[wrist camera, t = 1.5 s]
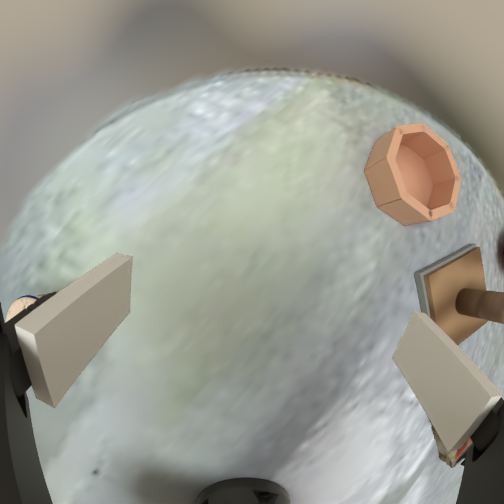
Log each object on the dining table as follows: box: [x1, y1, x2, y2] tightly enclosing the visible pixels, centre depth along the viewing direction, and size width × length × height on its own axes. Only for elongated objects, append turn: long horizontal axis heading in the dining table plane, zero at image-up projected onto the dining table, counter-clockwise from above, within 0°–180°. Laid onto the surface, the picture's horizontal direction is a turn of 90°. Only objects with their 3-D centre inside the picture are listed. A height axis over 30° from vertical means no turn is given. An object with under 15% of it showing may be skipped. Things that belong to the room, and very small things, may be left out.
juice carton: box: [430, 421, 472, 468], centre depth 34 cm, size 20×10×6 cm, turn 30°
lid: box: [423, 247, 504, 345], centre depth 29 cm, size 13×13×11 cm
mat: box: [414, 244, 476, 318], centre depth 36 cm, size 14×14×2 cm
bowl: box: [364, 123, 461, 226], centre depth 33 cm, size 12×12×6 cm
